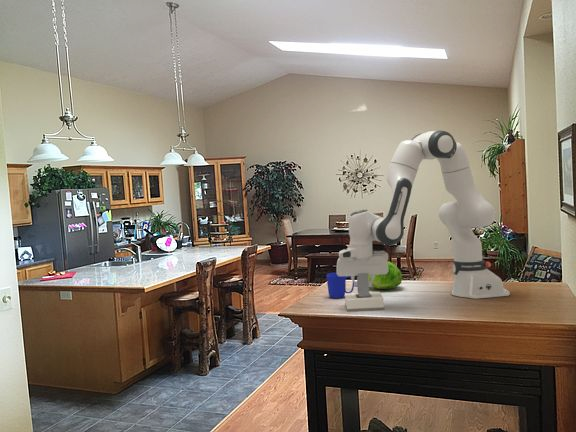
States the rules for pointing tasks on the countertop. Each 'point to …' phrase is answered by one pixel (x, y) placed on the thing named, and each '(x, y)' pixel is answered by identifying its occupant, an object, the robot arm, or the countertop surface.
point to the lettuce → (387, 278)
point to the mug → (337, 285)
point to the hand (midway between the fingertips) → (363, 286)
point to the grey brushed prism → (363, 286)
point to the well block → (364, 302)
